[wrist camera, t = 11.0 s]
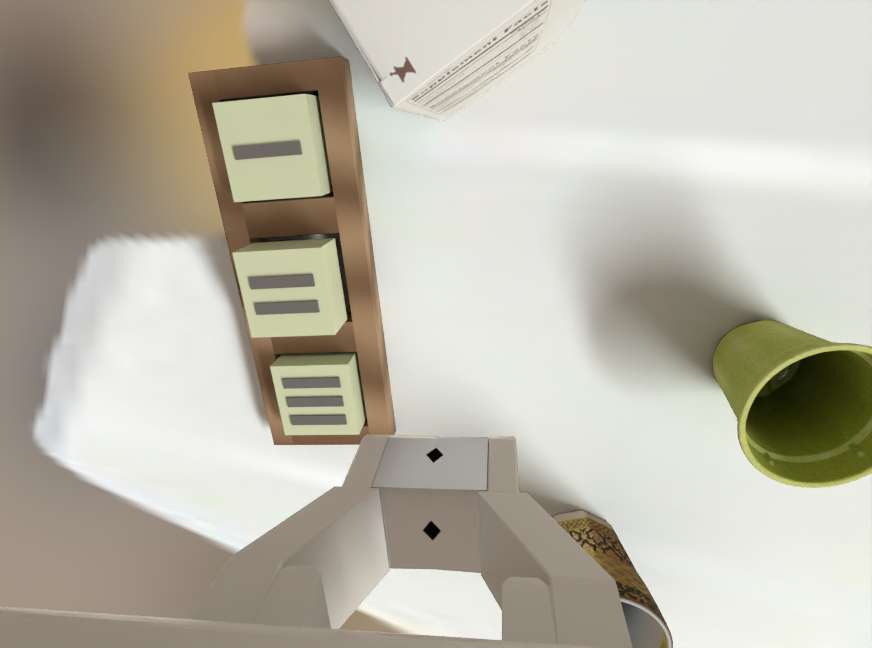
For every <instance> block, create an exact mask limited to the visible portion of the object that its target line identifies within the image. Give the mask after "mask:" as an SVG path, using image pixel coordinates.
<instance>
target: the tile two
mask: <svg viewBox="0 0 872 648" xmlns="http://www.w3.org/2000/svg"><path fill="white" fill-rule="evenodd" d="M232 254H233V259H234V263H235V267H236V272H237V276H238V280H239V285H240V289H241V293H242V298H243V302H244V306H245V311H246V315H247V319H248V324H249V328H250V333H251V337H252V338H259V337H288V336H317V335H336V333H337V332H338V331H339V329H340V328H341V327H342V325H343V324H344V323H345V322H346V320H347V314H346V307H345V301H344V294H343V288H342V281H341V275H340V268H339V262H338V255H337V249H336V242H335V238H327V239H310V240H294V241H277V242H260V243H252V244H250V245H247V246H245V247H243V248H241V249H239V250H237V251H235V252H232Z"/></svg>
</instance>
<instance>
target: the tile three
mask: <svg viewBox="0 0 872 648" xmlns="http://www.w3.org/2000/svg"><path fill="white" fill-rule="evenodd" d="M270 369H271V373H272V378H273V383H274V387H275V392H276V396H277V401H278V405H279V410H280V414H281V419H282V423H283V428H284V432H285V435H359V434H360V432H361V429H362V427H363V425H364V422H365V420H366V418H367V415H366V408H365V402H364V395H363V388H362V381H361V375H360V368H359V361H358V355H357V352H326V353H292V354H281V355H280V356H279V358H278V359H277V360H276V361H275V362H274V363H273V364H272V365H271V366H270Z"/></svg>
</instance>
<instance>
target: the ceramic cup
mask: <svg viewBox="0 0 872 648" xmlns="http://www.w3.org/2000/svg"><path fill="white" fill-rule="evenodd" d="M553 519H554V520H555V521H556V522H557V523H558V524H559V525H560V526H561V527H562V528H563V529H564V530H565V531H566V532H567V533H568V534H569V535H570V536H571V537H572V538H573V539H574V540H575V541H576V542H577V543H578V544H579V545H580V546H581V547H582V548H583V549H584V550H585V551H586V552H587V553H588V554H589V555H590V556H591V557H592V558H593V559H594V560H595V561H596V562H597V563H598V564H599V565H600V566H601V567H602V568H603V569H604V570H605V571H606V572H607V573H608V574H609V575H610V576H611V577H612V578H613V579H614V580H615V581H616V585H617V589H618V593H619V597H620V601H621V605H622V608H623V612H624V616H625V620H626V624H627V628H628V632H629V636H630V639H631V643H632V647H633V648H673V641H672V636H671V633H670V630H669V628H668V626H667V624H666V622H665V620H664V618H663V616H662V614H661V612H660V610H659V608H658V606H657V604H656V603H655V601H654V599H653V597H652V595H651V594H650V592H649V590H648V588H647V587H646V585H645V583H644V582H643V580H642V579H641V577H640V576H639V574H638V573H637V571H636V570H635V568H634V566H633V564H632V562H631V560H630V558H629V557H628V555H627V553H626V551H625V550H624V548H623V546H622V544H621V543H620V541H619V539H618V537H617V535H616V533H615V531H614V530H613V528H612V526H611V525H610V524H609V523H608V522H606V521H604V520H602V519H600V518H598V517H596V516H594V515H592V514H590V513H588V512H586V511H584V510H579V511H573V512H567V513H562V514H556V515H554V517H553Z"/></svg>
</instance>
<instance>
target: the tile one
mask: <svg viewBox="0 0 872 648" xmlns="http://www.w3.org/2000/svg"><path fill="white" fill-rule="evenodd" d="M212 105H213V109H214V114H215V118H216V123H217V127H218V132H219V136H220V141H221V145H222V150H223V155H224V159H225V164H226V168H227V173H228V177H229V182H230V186H231V191H232V195H233V200H234V202H244V201H258V200H272V199H286V198H300V197H314V196H323V195H325V194H328V193H331V192H333V188H332V181H331V174H330V168H329V161H328V154H327V148H326V141H325V134H324V128H323V121H322V114H321V108H320V101H319V96H314V95H309V94H297V95H287V96H278V97H268V98H258V99H248V100H238V101H228V102H218V103H212Z"/></svg>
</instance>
